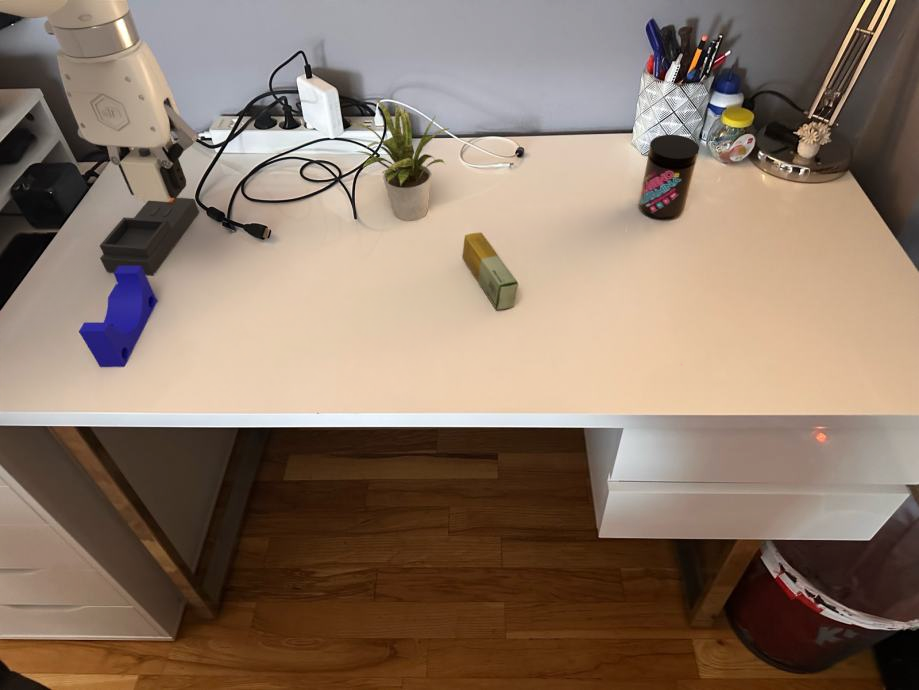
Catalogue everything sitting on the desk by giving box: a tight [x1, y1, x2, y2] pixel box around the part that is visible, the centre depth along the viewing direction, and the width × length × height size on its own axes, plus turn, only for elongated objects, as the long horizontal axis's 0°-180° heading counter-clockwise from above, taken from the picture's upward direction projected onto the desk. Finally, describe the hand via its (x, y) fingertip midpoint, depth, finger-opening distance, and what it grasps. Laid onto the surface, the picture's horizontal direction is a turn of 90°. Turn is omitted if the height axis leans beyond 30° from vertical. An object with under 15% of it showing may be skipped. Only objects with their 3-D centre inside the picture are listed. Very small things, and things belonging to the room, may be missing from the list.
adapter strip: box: [99, 197, 200, 276], centre depth 98 cm, size 7×16×4 cm, turn 172°
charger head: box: [120, 146, 171, 202], centre depth 79 cm, size 4×4×6 cm
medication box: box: [461, 232, 519, 311], centre depth 89 cm, size 12×3×4 cm, turn 22°
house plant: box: [351, 98, 449, 222], centre depth 98 cm, size 14×14×16 cm
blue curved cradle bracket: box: [78, 266, 158, 368], centre depth 84 cm, size 12×4×6 cm, turn 179°
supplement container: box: [638, 134, 700, 221], centre depth 98 cm, size 7×7×10 cm
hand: (159, 189), depth 81 cm, fingers closed on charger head, 4 cm apart
